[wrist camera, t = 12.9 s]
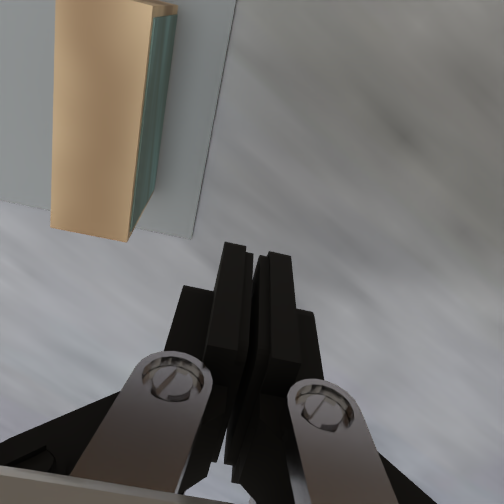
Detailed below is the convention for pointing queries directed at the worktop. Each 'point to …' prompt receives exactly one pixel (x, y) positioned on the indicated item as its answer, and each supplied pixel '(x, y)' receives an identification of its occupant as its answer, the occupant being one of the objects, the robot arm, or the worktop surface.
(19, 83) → the mat
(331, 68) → the worktop surface
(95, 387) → the worktop surface
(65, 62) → the block
